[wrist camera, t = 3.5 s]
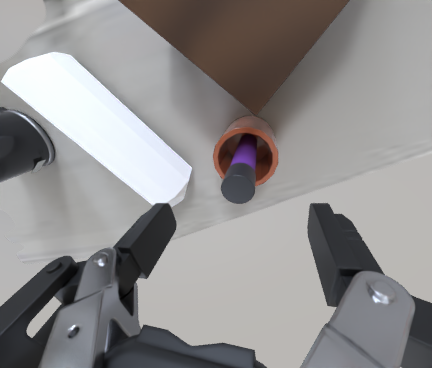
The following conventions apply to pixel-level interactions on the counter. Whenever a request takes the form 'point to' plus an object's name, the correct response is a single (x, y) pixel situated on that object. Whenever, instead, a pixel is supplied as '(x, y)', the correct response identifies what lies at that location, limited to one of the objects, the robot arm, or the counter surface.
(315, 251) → the robot arm
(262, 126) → the pen cup
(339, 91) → the counter surface
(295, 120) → the counter surface
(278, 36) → the shelf
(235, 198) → the marker
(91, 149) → the crystal
